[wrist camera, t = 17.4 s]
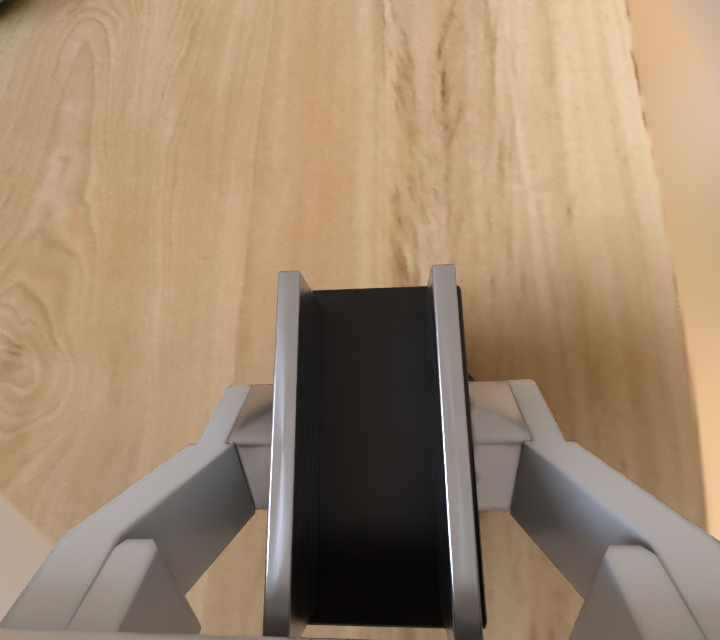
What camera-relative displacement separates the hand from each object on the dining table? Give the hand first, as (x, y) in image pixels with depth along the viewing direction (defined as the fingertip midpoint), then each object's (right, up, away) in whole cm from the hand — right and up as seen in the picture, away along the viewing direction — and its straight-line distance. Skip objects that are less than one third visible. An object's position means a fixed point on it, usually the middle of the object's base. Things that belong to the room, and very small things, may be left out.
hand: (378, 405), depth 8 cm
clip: (0, -2, +5) cm, 5 cm away
